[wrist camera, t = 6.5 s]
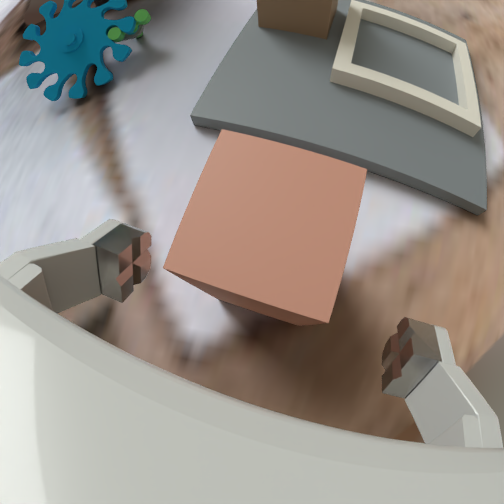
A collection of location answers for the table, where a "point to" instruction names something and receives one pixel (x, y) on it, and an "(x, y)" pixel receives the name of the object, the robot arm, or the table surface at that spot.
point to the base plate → (356, 93)
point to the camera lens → (100, 2)
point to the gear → (79, 44)
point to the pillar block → (269, 228)
